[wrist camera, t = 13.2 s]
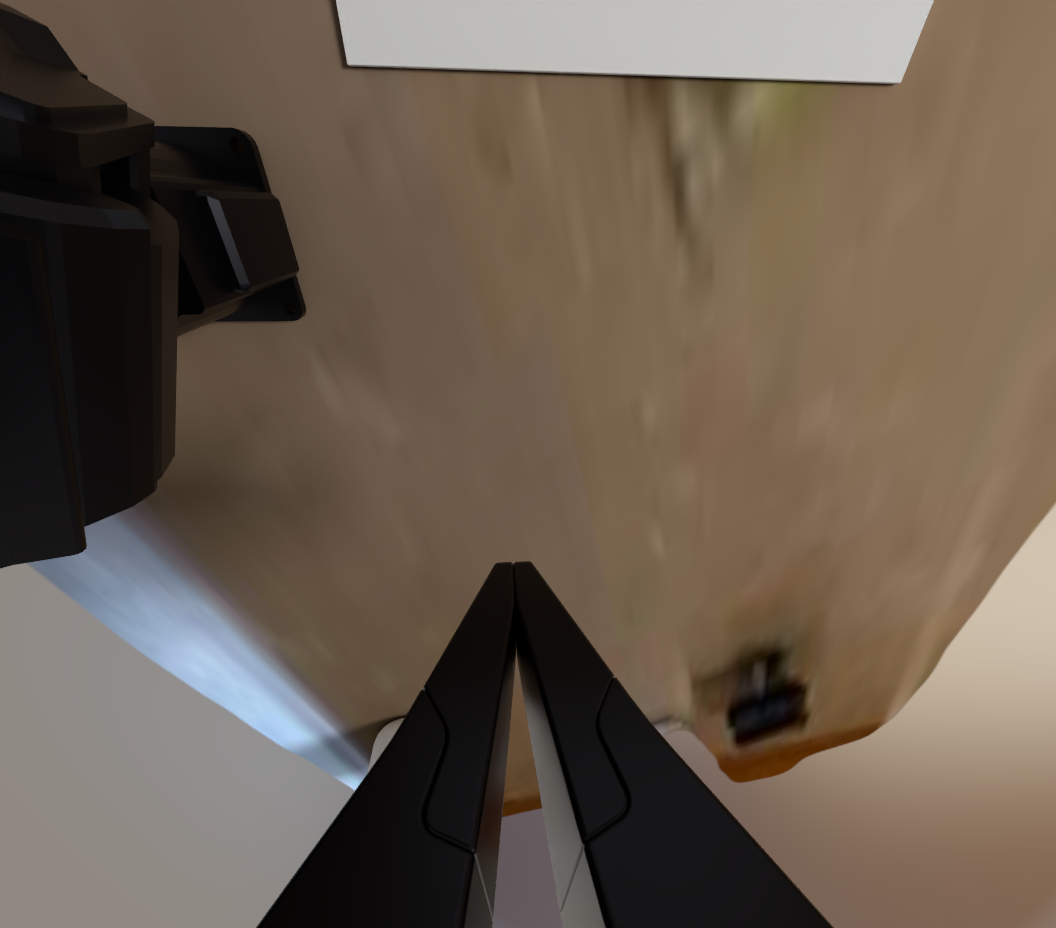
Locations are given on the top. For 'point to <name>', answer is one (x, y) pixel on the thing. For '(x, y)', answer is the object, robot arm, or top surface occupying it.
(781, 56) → the rubber mat
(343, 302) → the top surface
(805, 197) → the top surface
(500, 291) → the top surface
